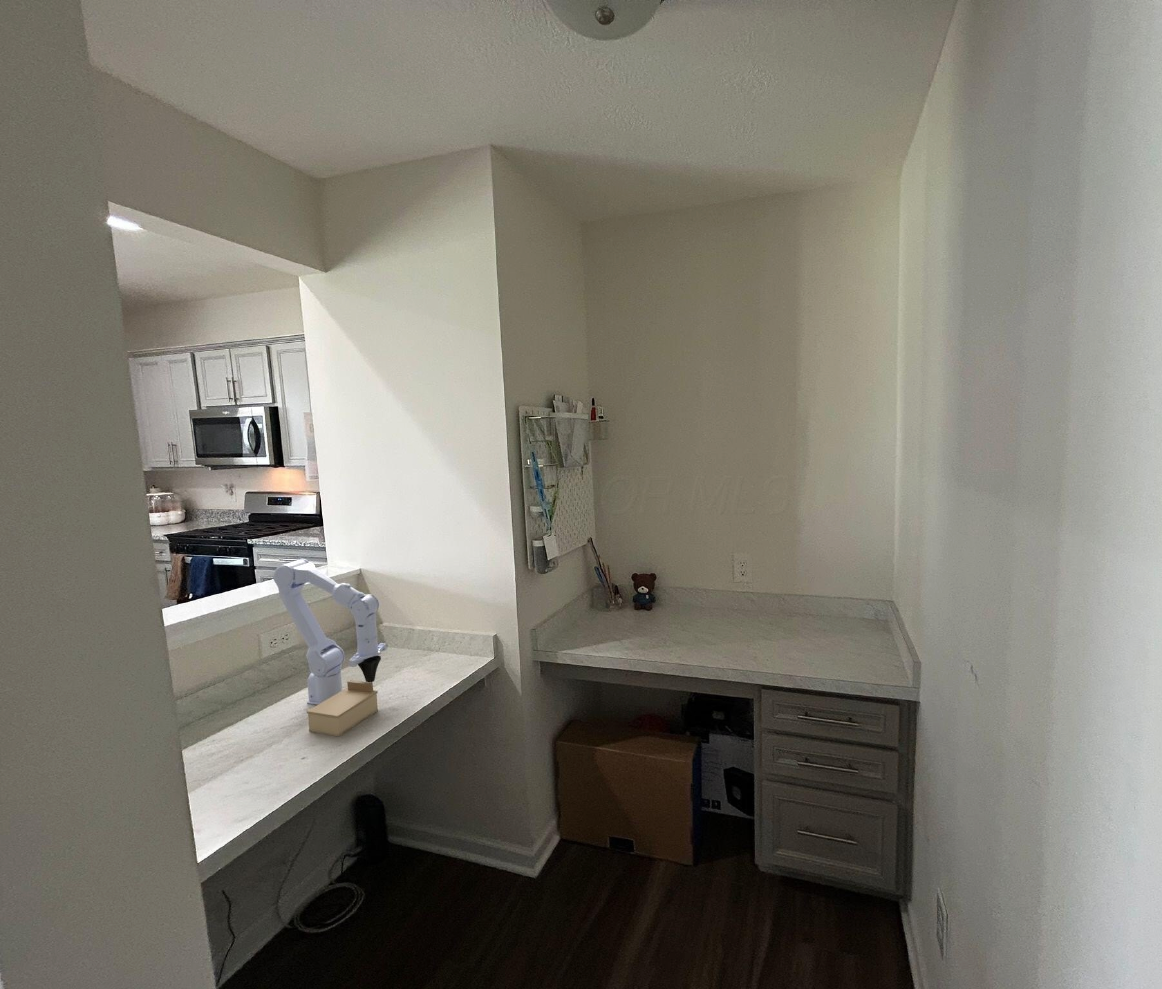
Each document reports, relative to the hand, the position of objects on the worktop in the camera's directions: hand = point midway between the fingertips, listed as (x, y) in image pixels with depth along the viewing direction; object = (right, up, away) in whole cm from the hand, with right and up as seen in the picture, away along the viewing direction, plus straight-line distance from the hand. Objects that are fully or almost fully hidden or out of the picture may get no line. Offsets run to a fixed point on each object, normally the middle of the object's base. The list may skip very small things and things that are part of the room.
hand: (370, 681), depth 186 cm
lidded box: (-4, -8, -10) cm, 13 cm away
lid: (-4, -3, -11) cm, 12 cm away
